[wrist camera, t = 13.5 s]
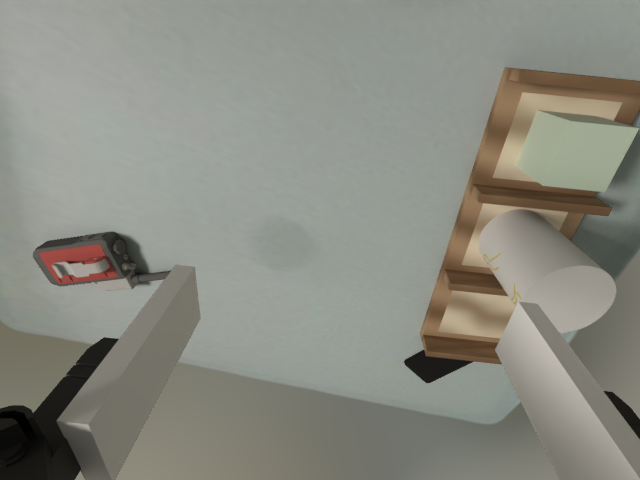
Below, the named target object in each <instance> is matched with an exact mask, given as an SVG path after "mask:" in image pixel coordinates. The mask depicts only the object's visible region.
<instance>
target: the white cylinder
mask: <svg viewBox="0 0 640 480" xmlns="http://www.w3.org/2000/svg"><path fill="white" fill-rule="evenodd" d="M478 248H479V251H480V254H481V255H482V257H483V258H484V260H485V261H486V263H487V264H488V266H489V267H490V269H491V270H492V272H493V273H494V275H495V277H496V278H497V280H498V281H499V283H500V284H501V286H502V287H503V289H504V290H505V292H506V293H507V295H508V296H509V298H510V299H511V301H512V302H513V304H514V305H515V307H516V305H517V303H518V302H527V303H536V304H538V305H539V306H540V308H541V309H542V310H543V312H544V313H545V314H546V316H547V317H548V318H549V320H550V321H551V322H552V324H553V325H554V326H555V328H556V329H557V330H558V332H559V333H567V332H571V331H575V330H578V329H581V328H583V327H586V326H588V325H590V324H592V323H593V322H595V321H596V320H598V319H599V318H600V317H601V316H602V315H604V314H605V313H606V312H607V311H608V309H609V308H610V307H611V304H612V303H613V301H614V299H615V296H616V285H615V282H614V280H613V278H612V277H611V276H610V275H609V274H608V273H607V272H606V271H605V270H604V269H602V268H601V267H600V266H599V265H598V264H597V263H595V262H594V261H593V260H592V259H591V258H590V257H588V256H587V255H586V254H585V253H584V252H583V251H581V250H580V249H579V248H578V247H577V246H576V245H574V244H573V243H572V242H571V241H570V240H569V239H567V238H566V237H565V236H564V235H563V234H562V233H560V232H559V231H558V230H557V229H556V228H555V227H553V226H552V225H551V224H550V223H549V222H548V221H546V220H545V219H544V218H543V217H542V216H541V215H539V214H538V213H536V212H534V211H531V210H526V209H516V210H510V211H507V212H504V213H502V214H500V215H498V216H496V217H495V218H493V219H492V220H491V221H490V222H489V223H488V224H487V225H486V226H485V227H484V229H483V230H482V232H481V234H480V237H479V241H478Z"/></svg>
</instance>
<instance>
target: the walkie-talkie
mask: <svg viewBox="0 0 640 480" xmlns="http://www.w3.org/2000/svg"><path fill="white" fill-rule="evenodd" d="M33 258H34V260H35V261H36V262H37V264H38V265H39V267H40V268H41V270H42V271H43V273H44V274H45V276H46V277H47V278H48V280H49V281H50V282H51V283H52V284H54V285H58V286H65V285H66V286H68V285H75V284H82V283H83V284H84V283H91V284H92V285H94V286H96V287H99V288H101V289H104V290H106V291H111V290H120V289H133V288H134V287H135V286H136V285H137V283H142V282H145V281H154V280H162V279H166V277H167V276H168V275H169V273H170V272H171V271H170V272H161V273H153V274H145V275H141V274H137V275H135V273H134V271H133V269H136V264H133V263H132V262H131V260H130V259H129V257H128V255H127V253H126V244H125V242H124V241H123V240H121V239H119V238H118V236H117V234H116V233H115V232H105V233H99V234H92V235H85V236H80V237H79V236H78V237H74V238H72V237H71V238H67V239H65V238H64V239H60V240H59V239H57V240H53V241H52V240H51V241H47V242H45V243H44V244H42V245H41V246H39V247H38V248H36V249H35V251H34V253H33Z"/></svg>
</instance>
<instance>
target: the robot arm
mask: <svg viewBox="0 0 640 480" xmlns="http://www.w3.org/2000/svg"><path fill="white" fill-rule="evenodd" d="M199 320H200V309H199V301H198V292H197V283H196V275H195V267H190V266H181V265H175V267H174V268H173V269H172V271H171V272H170V273H169V275H168V276H167V277H166V279H165V280H164V281H163V282H162V284H161V285H160V286H159V288H158V289H157V290H156V292H155V293H154V294H153V295H152V297H151V298H150V299H149V301H148V302H147V303H146V305H145V306H144V307H143V309H142V310H141V311H140V312H139V314H138V315H137V316H136V318H135V319H134V320H133V322H132V323H131V324H130V325H129V327H128V328H127V329H126V331H125V332H124V333H123V335H122V336H121V337H120V339H113V338H103V339H101V340H100V341H98V342H97V343H95V344H94V345H93V346H91V347H90V348H88V349H87V350H86V352H85V353H84V354H83V355H82V356H81V357H80V359H79V360H78V361H77V362H76V365H75V366H73V367H72V368H71V369H70V371H69V372H68V373H67V375H66V377H64V378H63V379H62V380H61V381H60V382H59V384H58V385H57V386H56V387H55V388H54V389H53V391H52V392H51V393H50V394H49V396H48V397H47V398H46V399H45V400H44V401H43V402H42V404H41V405H40V406H39V407H38V408H37V410H36V411H35V412H34V413H32V411H31V409H29V408H27V407H25V406H8V407H5V408H1V409H0V480H74V479H75V478H76V476H77V475H78V473H79V472H80V470H81V472H82V474H83V476H84V478H85V480H115V479H116V478H117V476H118V474H119V472H120V470H121V468H122V466H123V464H124V462H125V460H126V458H127V457H128V455H129V453H130V451H131V449H132V447H133V445H134V443H135V441H136V440H137V438H138V436H139V434H140V432H141V430H142V428H143V426H144V424H145V422H146V421H147V419H148V417H149V415H150V413H151V411H152V409H153V407H154V405H155V403H156V402H157V400H158V398H159V396H160V394H161V392H162V390H163V388H164V386H165V384H166V382H167V381H168V378H169V377H170V375H171V373H172V371H173V369H174V367H175V366H176V363H177V362H178V360H179V358H180V356H181V354H182V352H183V350H184V348H185V347H186V345H187V343H188V341H189V339H190V337H191V335H192V333H193V331H194V329H195V328H196V326H197V324H198V322H199ZM495 351H496V353H497V355H498V357H499V359H500V361H501V363H502V365H503V367H504V369H505V371H506V373H507V375H508V377H509V379H510V381H511V383H512V385H513V387H514V389H515V391H516V393H517V395H518V397H519V399H520V401H521V403H522V405H523V407H524V409H525V411H526V413H527V415H528V417H529V419H530V421H531V423H532V425H533V427H534V429H535V431H536V433H537V435H538V437H539V439H540V441H541V443H542V445H543V447H544V449H545V451H546V453H547V455H548V457H549V459H550V461H551V463H552V465H553V467H554V469H555V471H556V473H557V475H558V477H559V479H560V480H640V419H639V418H638V417H637V415H636V414H635V413H634V412H633V410H632V409H631V408H630V407H629V406H628V405H627V404H626V403H625V402H623V401H622V400H621V399H620V398H619V397H617V396H616V395H615V394H614V393H613V392H607V391H603V390H602V389H601V387H600V386H599V385H598V383H597V382H596V381H595V379H594V378H593V377H592V375H591V374H590V373H589V371H588V370H587V369H586V367H585V366H584V365H583V363H582V362H581V361H580V359H579V358H578V357H577V356H576V354H575V353H574V352H573V350H572V349H571V348H570V346H569V345H568V344H567V342H566V341H565V340H564V338H563V337H562V336H561V334H560V333H559V332H558V330H557V329H556V328H555V326H554V325H553V324H552V322H551V321H550V320H549V318H548V317H547V316H546V314H545V313H544V312H543V310H542V309H541V308H540V306H539V305H538V304H536V303H527V302H518V303H517V305H516V308H515V310H514V312H513V314H512V316H511V318H510V320H509V322H508V324H507V326H506V328H505V330H504V332H503V334H502V336H501V339H500V341H499V343H498V345H497V347H496V349H495Z"/></svg>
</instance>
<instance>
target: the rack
mask: <svg viewBox="0 0 640 480" xmlns="http://www.w3.org/2000/svg"><path fill="white" fill-rule="evenodd" d="M639 109H640V81H634V80H624V79H615V78H605V77H595V76H585V75H575V74H565V73H555V72H545V71H535V70H525V69H515V68H505V69H504V73H503V76H502V79H501V82H500V85H499V88H498V91H497V94H496V98H495V101H494V104H493V107H492V110H491V113H490V116H489V119H488V123H487V126H486V129H485V132H484V135H483V138H482V141H481V145H480V148H479V151H478V154H477V157H476V160H475V163H474V166H473V170H472V173H471V176H470V179H469V182H468V185H467V188H466V191H465V195H464V198H463V201H462V204H461V207H460V210H459V213H458V217H457V220H456V223H455V226H454V229H453V232H452V235H451V238H450V242H449V245H448V248H447V251H446V254H445V257H444V260H443V264H442V267H441V270H440V273H439V276H438V279H437V282H436V285H435V289H434V292H433V295H432V298H431V301H430V304H429V307H428V310H427V314H426V317H425V320H424V323H423V326H422V329H421V332H420V335H421V339H422V343H423V347H424V350H425V354H426V356H430V357H439V358H448V359H457V360H466V361H476V362H485V363H494V364H502V363H501V361H500V359H499V357H498V355H497V353H496V351H495V349H496V347H497V345H498V343H499V341H500V339H501V336H502V334H503V332H504V330H505V328H506V326H507V324H508V322H509V320H510V318H511V316H512V314H513V312H514V310H515V308H516V307H515V305H514V304H513V302H512V301H511V299H510V298H509V296H508V295H507V293H506V292H505V290H504V289H503V287H502V286H501V284H500V283H499V281H498V280H497V278H496V277H495V275H494V273H493V272H492V270H491V269H490V267H489V266H488V264H487V263H486V261H485V260H484V258H483V257H482V255H481V254H480V251H479V248H478V241H479V237H480V234H481V232H482V230H483V229H484V227H485V226H486V225H487V224H488V223H489V222H490V221H491V220H492V219H493V218H495V217H496V216H498V215H500V214H502V213H504V212H507V211H510V210H516V209H526V210H531V211H534V212H536V213H538V214H539V215H541V216H542V217H543V218H544V219H545V220H546V221H548V222H549V223H550V224H551V225H552V226H553V227H555V228H556V229H557V230H558V231H559V232H560V233H562V234H563V235H564V236H565V237H566V238H567V239H569V240H570V241H571V239H572V237H573V235H574V233H575V231H576V230H577V228H578V226H579V224H580V222H581V220H582V218H583V216H584V214H591V215H601V216H609V214H610V212H611V210H612V207H611V206H609V205H607V204H606V203H604V202H602V201H601V200H599V199H597V198H596V197H594V195H595V193H596V191H588V190H579V189H569V188H560V187H550V186H542V185H541V184H539V183H538V182H537V181H535V180H534V179H532V178H531V177H529V176H528V175H527V174H525V173H524V172H522V171H521V170H519V169H518V168H517V167H515V166H516V164H517V161H518V159H519V156H520V153H521V151H522V148H523V146H524V143H525V140H526V138H527V135H528V132H529V130H530V127H531V125H532V122H533V119H534V117H535V114H536V112H537V110H542V111H552V112H561V113H571V114H581V115H591V116H597V117H601V118H605V119H608V120H612V121H616V122H619V123H623V124H626V125H630V126H631V124H632V122H633V121H634V119H635V117H636V115H637V113H638V111H639Z"/></svg>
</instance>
